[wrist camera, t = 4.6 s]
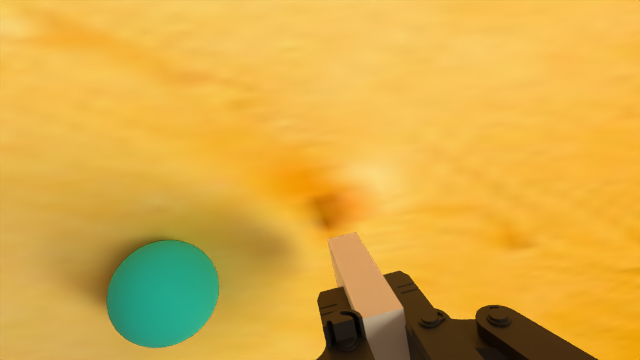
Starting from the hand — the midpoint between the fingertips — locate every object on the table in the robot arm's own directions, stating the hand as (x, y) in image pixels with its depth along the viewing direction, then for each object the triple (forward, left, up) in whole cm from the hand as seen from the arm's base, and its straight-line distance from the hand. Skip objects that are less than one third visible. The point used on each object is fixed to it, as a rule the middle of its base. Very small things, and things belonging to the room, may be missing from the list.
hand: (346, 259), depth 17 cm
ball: (-10, 0, -2) cm, 10 cm away
